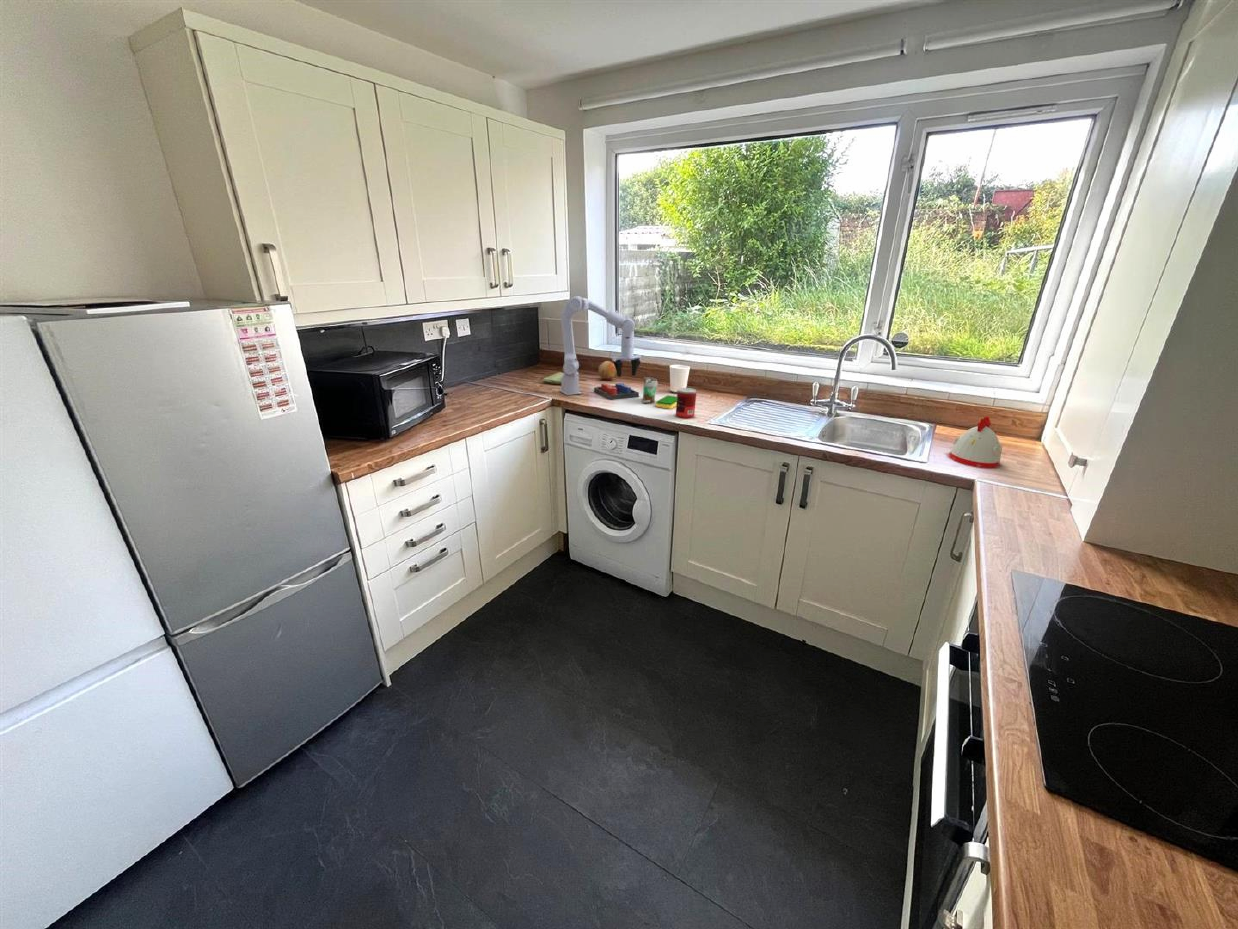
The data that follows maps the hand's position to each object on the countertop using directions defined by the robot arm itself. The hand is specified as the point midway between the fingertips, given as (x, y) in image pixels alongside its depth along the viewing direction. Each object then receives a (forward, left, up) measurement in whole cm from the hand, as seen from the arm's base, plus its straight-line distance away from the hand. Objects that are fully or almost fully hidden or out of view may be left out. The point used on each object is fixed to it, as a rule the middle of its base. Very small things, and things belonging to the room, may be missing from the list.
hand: (626, 375), depth 233 cm
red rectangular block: (-4, -7, -9) cm, 12 cm away
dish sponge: (+22, +10, -10) cm, 26 cm away
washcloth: (-39, -17, -10) cm, 44 cm away
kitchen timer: (+122, +66, -10) cm, 139 cm away
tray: (-4, -3, -9) cm, 11 cm away
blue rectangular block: (-4, 0, -9) cm, 9 cm away
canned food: (+40, +6, -10) cm, 42 cm away
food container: (+14, +5, -10) cm, 18 cm away
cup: (+3, +28, -10) cm, 30 cm away
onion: (-35, +8, -10) cm, 37 cm away
